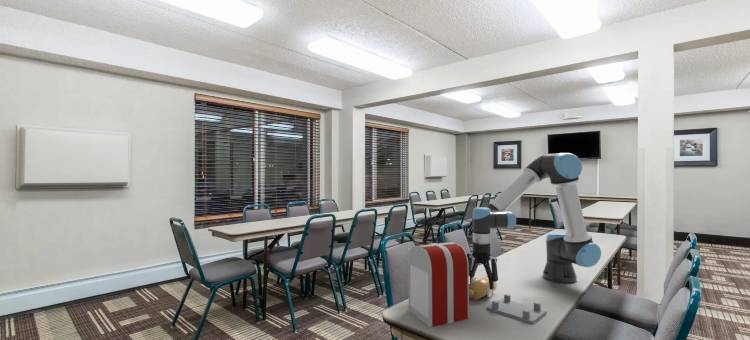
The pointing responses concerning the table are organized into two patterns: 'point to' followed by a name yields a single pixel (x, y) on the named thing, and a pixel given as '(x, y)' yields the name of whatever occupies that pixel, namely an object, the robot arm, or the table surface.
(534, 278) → the table surface
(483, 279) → the amber bottle
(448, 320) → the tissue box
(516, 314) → the u rest
